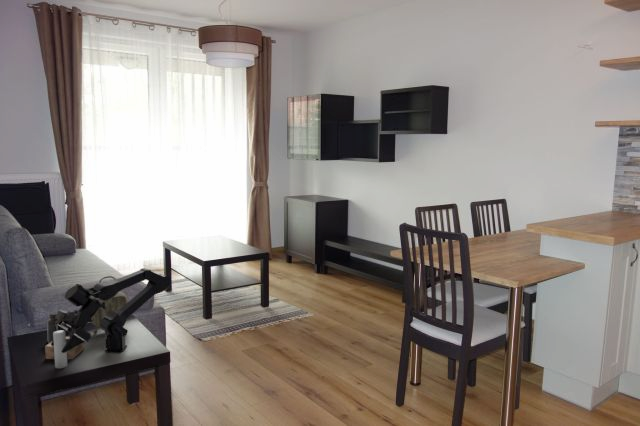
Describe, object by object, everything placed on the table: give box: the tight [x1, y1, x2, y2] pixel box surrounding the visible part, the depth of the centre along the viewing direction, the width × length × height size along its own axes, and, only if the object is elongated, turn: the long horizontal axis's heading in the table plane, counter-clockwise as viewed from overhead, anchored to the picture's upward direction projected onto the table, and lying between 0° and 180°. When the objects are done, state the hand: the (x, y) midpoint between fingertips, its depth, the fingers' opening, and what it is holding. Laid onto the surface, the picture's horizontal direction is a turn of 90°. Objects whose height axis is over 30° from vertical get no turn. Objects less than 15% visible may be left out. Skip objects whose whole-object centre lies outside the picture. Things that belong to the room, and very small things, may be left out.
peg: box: [53, 330, 68, 369], centre depth 189 cm, size 4×4×13 cm
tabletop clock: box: [90, 275, 129, 334], centre depth 222 cm, size 14×9×25 cm, turn 133°
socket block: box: [44, 336, 85, 360], centre depth 200 cm, size 10×10×5 cm
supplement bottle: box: [46, 310, 58, 344], centre depth 213 cm, size 7×7×12 cm
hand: (57, 349), depth 188 cm, fingers open, 9 cm apart
